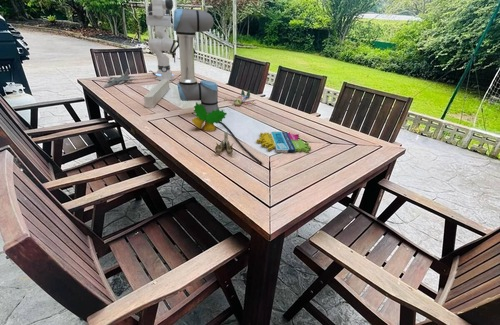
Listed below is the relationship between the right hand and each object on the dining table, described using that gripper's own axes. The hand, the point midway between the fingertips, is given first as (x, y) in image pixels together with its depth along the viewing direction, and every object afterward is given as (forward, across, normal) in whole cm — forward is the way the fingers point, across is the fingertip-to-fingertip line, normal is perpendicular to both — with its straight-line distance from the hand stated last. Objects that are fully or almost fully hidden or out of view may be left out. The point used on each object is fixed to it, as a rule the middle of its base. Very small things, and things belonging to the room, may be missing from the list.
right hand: (183, 62), depth 211 cm
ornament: (+28, -11, +75) cm, 81 cm away
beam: (+28, +22, +1) cm, 35 cm away
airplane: (+28, +59, -48) cm, 80 cm away
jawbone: (+28, -15, +107) cm, 112 cm away
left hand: (-19, +17, -34) cm, 43 cm away
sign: (+28, -50, +101) cm, 116 cm away
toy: (+28, -45, +18) cm, 56 cm away
